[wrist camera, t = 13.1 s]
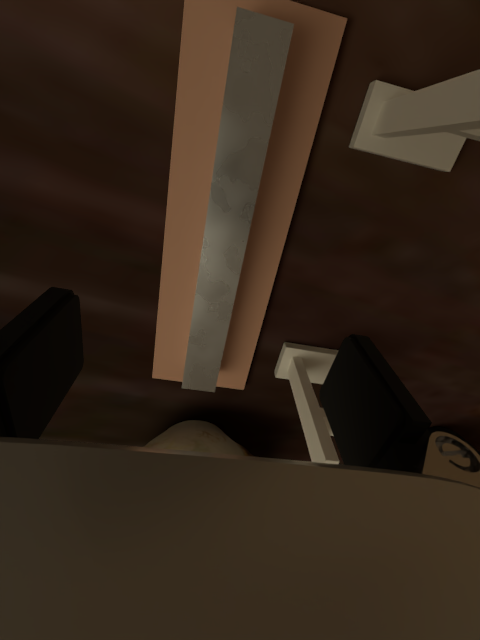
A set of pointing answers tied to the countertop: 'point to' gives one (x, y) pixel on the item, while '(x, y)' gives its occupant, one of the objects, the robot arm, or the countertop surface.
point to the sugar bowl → (197, 439)
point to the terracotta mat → (198, 162)
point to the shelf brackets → (404, 145)
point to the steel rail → (234, 185)
